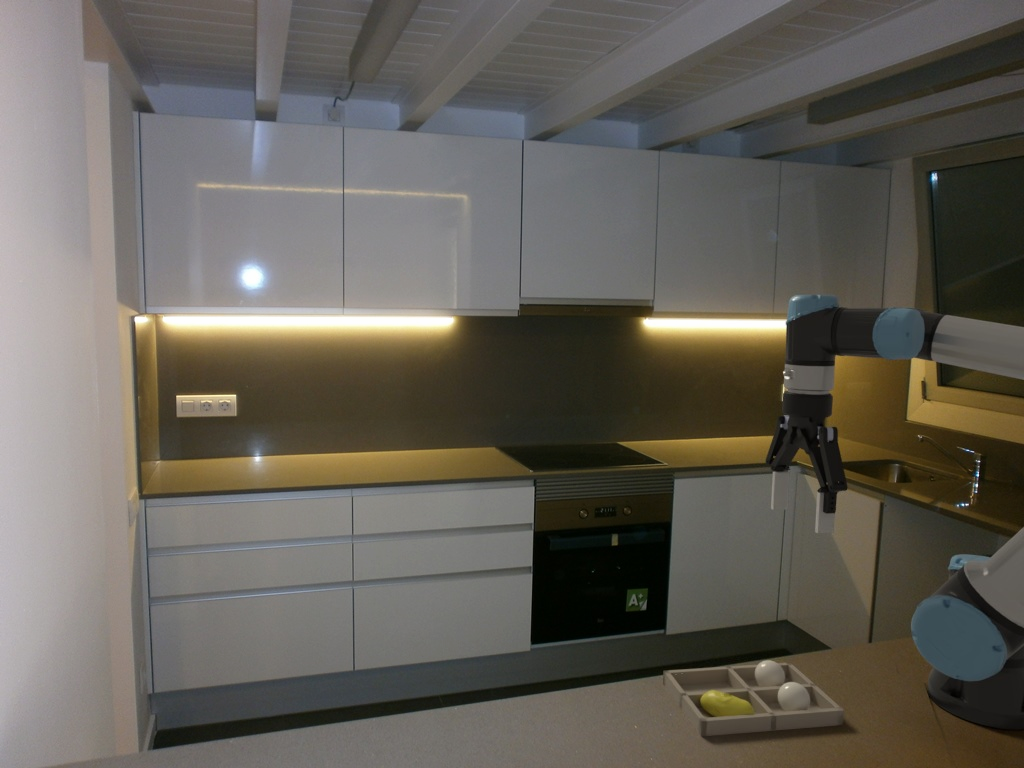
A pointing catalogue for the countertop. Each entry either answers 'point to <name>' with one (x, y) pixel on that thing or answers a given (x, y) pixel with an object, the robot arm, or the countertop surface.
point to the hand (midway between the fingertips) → (800, 520)
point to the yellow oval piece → (725, 704)
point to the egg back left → (793, 697)
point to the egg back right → (769, 674)
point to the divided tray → (745, 687)
